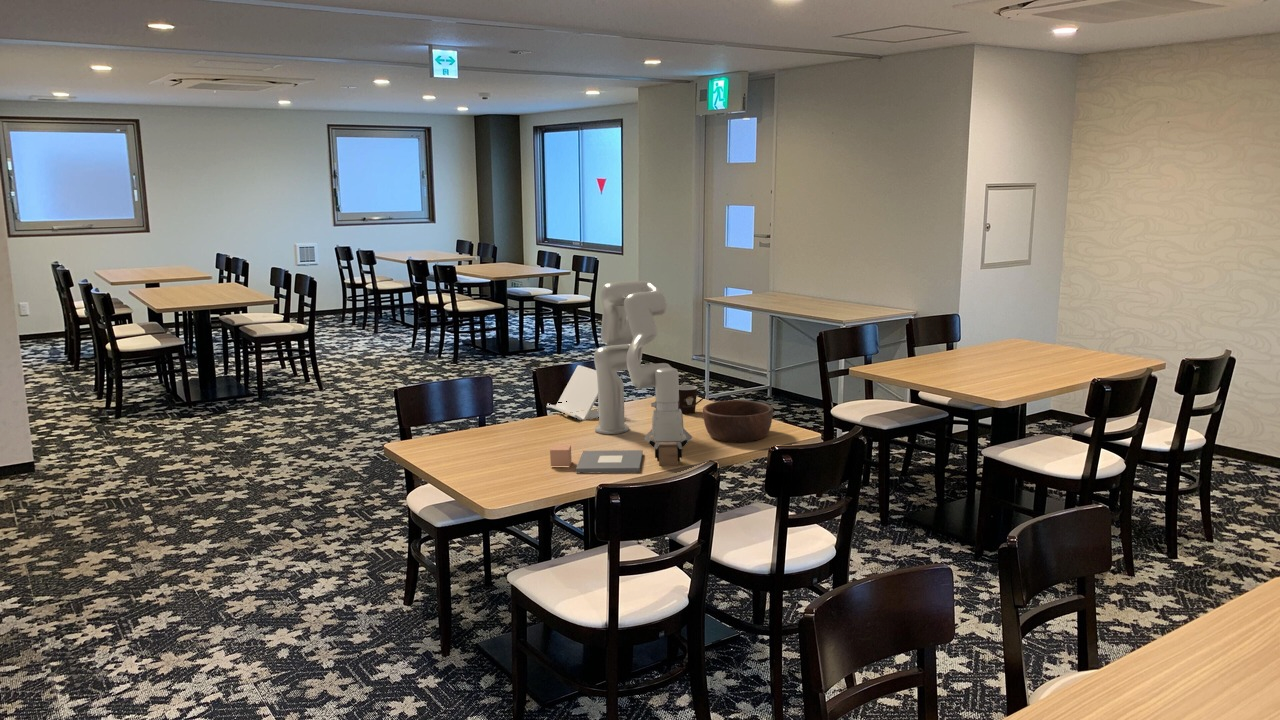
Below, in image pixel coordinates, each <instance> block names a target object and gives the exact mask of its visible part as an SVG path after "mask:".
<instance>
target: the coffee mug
mask: <svg viewBox="0 0 1280 720" xmlns="http://www.w3.org/2000/svg"><path fill="white" fill-rule="evenodd" d="M700 392H703V396H702V398H701V399H699V400H698V401H697V395H698V393H700ZM706 395H707V392H706V390H704V389H702V388H701V389H700V388H699V389H698V386H696V385H689V384H686V385H685V384H684V385H679V409H681V411H682V415H693V414H695V413H696V406H697V405H699V403H701V402H702V401H703V400H704V399H705V397H706Z"/></svg>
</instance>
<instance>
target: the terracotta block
mask: <svg viewBox="0 0 1280 720" xmlns="http://www.w3.org/2000/svg"><path fill="white" fill-rule="evenodd" d="M549 455H550V467H551V466H571V465H570V463H571V461H573V460H572V445H571V444H553V445H552V446H551V447H550V450H549ZM571 464H572V463H571Z"/></svg>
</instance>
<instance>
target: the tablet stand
mask: <svg viewBox="0 0 1280 720" xmlns="http://www.w3.org/2000/svg"><path fill="white" fill-rule="evenodd" d="M597 399H598V383H597V372H596V369H592V368H590V367H586V366H583V365H580V364H578V365H577V366H576V368H575V370H574V372H573V373H572V375H571V377H570V379H569V381H568V382H567V385H566V386H565V387H564V389H563V392H562V394H561V395H560V397H559V399H558V401H557V403H556V404H555V405H553V404H551V403H548V402H547V404H546V406H547V407H549V408H551V409H553V410H555V411H558V412H559V413H563V414H564V413H568V414H566V415H567V416H569V417H571V418H574V419H576V418H577V420H579V421H581V420H584V421H587V420H586V419H590V420H594V419H593V418H596V419H599V418H598V417H599V407H598V406H596V405H595V403H596V401H597ZM566 401H567V402H566ZM558 402H562V403H558ZM549 404H550V405H549ZM592 408H598V409H594V410H591V409H592ZM581 410H584V411H581ZM597 410H598V411H597ZM576 411H579V412H576ZM570 412H573V413H570Z"/></svg>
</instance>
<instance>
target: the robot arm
mask: <svg viewBox="0 0 1280 720" xmlns="http://www.w3.org/2000/svg"><path fill="white" fill-rule="evenodd" d="M600 291H601V292H600V299H601V303H602V309H603V310H602V317H601V320H602V321H601V328H600V338H601V342H602V343H603V344H604V345H605V346H604V345H603V346H601V347H599V348H597V349H596V350H595V352H594V353H593V354H594V355H593V361H594V367H595V370H596V372H597V383H598V398H597V399H598V401H597V402H598V404H597V405H598V406H597V407H599V418H598V425H596V426H595V427H594V431H595V432H596V433H598V434H604V435H618V434H624V433H626V432H628V431H629V430H630V426H629V425H628V424H626V423H625V422H626V421H625V419H626V418H625V417H626V416H625V390H624V382H623V379H622V378H621V377H620V376H619V374H618V372H621V371H628V376H629V378H630V381H631V383H632V385H633V386H634V387H635V388H637V389H648V388H654V389H655V390H654V391H655V394H654V395H655V400H654V401H653V402H650V403H651V404H650V405H651V406H650V407H652V408H654V409H653V412H652V420H651V425H652V426H651V429H650V430H649V432H647V434H645V436H644V440H645V441H646V442H647V443H648V444H649V445H650V446H651V447H652V448H653V449H654V458H655V459H656V462H659V443H660V442H677V445H678V462H680V461H681V459H682V458H683V448H684V447H685V446H686V445H687V444H688V443H689V442H690V441H691V440H692V438H693V436H692V435H691V433H689V432H688V431H687V430H686V429H685V428H684V417H683V414H682V411H681V409H679V386H680V385H679V384H680V383H679V371H678V369H677V368H674V367H672V365H670V364H669V363H666V362H661V363H660V362H659V363H649V364H642V365H641V362H642V360H643V359H642V358H643V349H644V346H645V345H647V344H648V343H651V342H652V341H654V340H655V339H656V338H657V337H658V335H659V334H658V332H659V331H658V328H657V325H656V321H655V318H654V317H655V316H656V317H657V316H663V315H664V314H665V313H666V311H667V306H668V304H667V300H666V297H665V295H664V293H662V291H661V290H660V289H659V288H658V287H657V286H656V285H654V284H653V283H651V282H650V281H648V280H630V281H626V280H625V281H615V282H607V283H605V284H604V285H603V286H602V288H601V290H600ZM684 435H685V436H686V439H685V440H683V438H684ZM651 437H652V438H651ZM682 440H683V441H682ZM681 441H682V442H681Z"/></svg>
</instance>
